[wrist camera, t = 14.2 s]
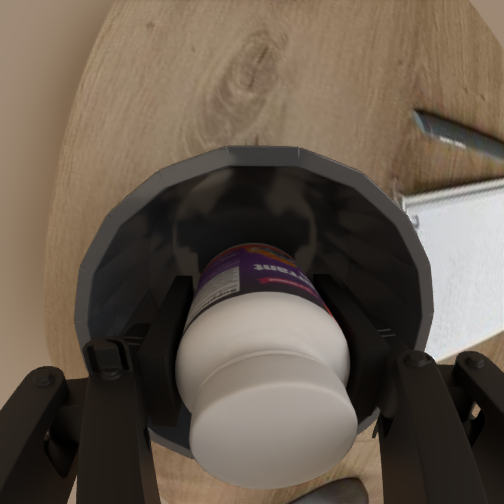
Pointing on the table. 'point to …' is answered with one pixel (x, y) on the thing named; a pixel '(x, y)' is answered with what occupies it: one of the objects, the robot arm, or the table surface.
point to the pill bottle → (263, 372)
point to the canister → (253, 231)
